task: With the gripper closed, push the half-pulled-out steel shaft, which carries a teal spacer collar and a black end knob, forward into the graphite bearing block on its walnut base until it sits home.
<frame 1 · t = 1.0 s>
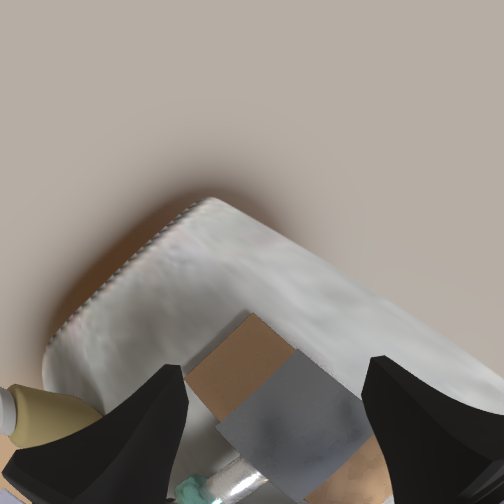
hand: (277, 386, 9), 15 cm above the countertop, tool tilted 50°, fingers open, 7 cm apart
shaft: (229, 486, 14), point 4 cm above the countertop, slide at 5.0 cm
squeeze bottle: (95, 431, 23), on the countertop
bearing housing: (304, 424, 20), on the countertop
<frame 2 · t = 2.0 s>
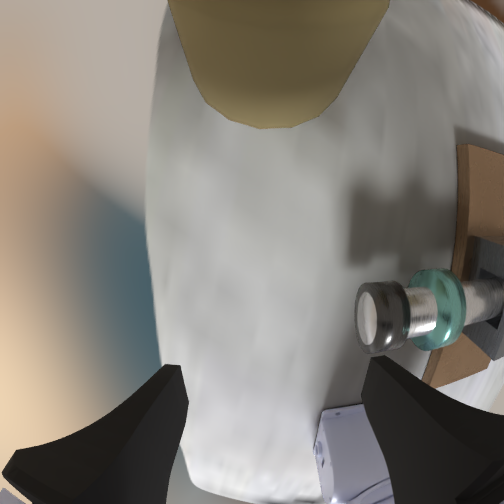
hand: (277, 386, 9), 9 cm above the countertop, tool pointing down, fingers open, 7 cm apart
shaft: (460, 304, 14), point 4 cm above the countertop, slide at 5.0 cm
squeeze bottle: (266, 84, 15), on the countertop
bearing housing: (484, 275, 18), on the countertop
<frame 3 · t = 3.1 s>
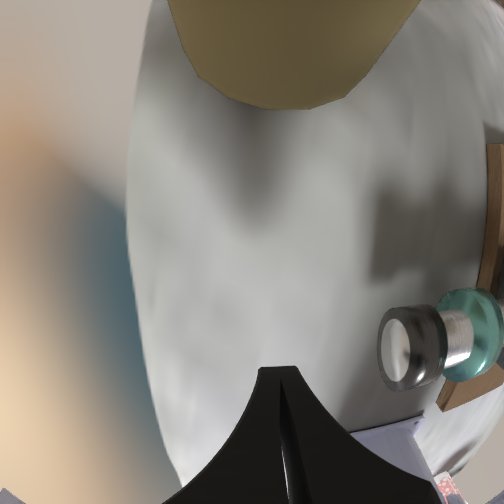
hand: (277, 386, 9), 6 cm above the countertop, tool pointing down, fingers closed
shaft: (492, 326, 10), point 4 cm above the countertop, slide at 5.0 cm
squeeze bottle: (274, 62, 12), on the countertop
beverage cup: (435, 478, 24), on the countertop
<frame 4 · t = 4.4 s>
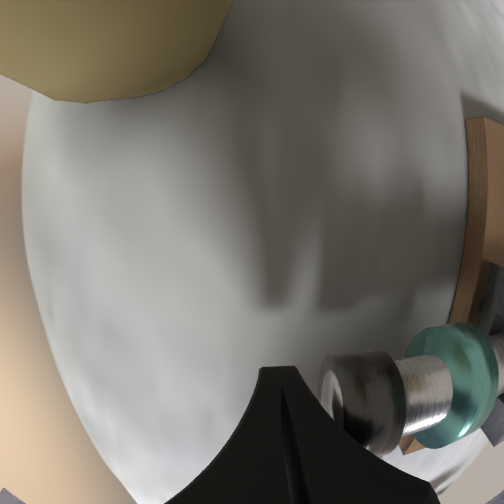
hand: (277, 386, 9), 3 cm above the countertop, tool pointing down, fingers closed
shaft: (483, 370, 7), point 4 cm above the countertop, slide at 3.3 cm, touching gripper
squeeze bottle: (154, 43, 9), on the countertop
bearing housing: (496, 311, 12), on the countertop
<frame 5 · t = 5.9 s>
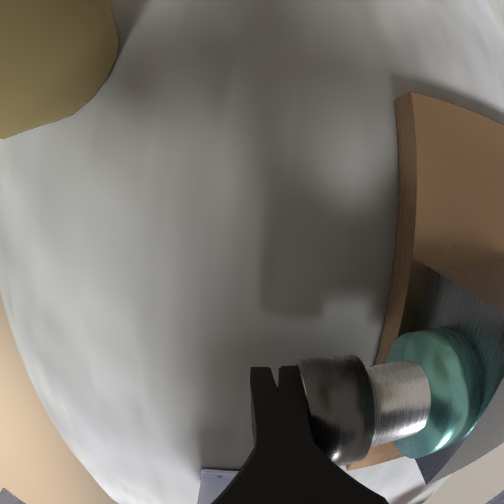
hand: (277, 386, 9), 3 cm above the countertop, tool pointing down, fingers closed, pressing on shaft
shaft: (470, 377, 7), point 4 cm above the countertop, slide at -0.3 cm, touching bearing housing, gripper
squeeze bottle: (74, 69, 9), on the countertop
bearing housing: (453, 323, 12), on the countertop
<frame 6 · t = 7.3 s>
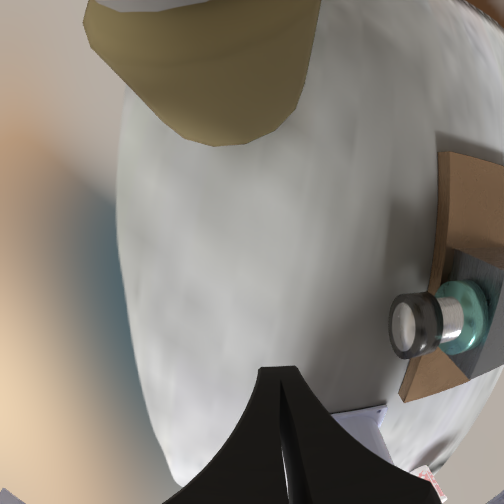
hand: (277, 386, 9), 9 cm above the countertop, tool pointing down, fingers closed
shaft: (480, 311, 14), point 5 cm above the countertop, slide at 0.0 cm
squeeze bottle: (231, 95, 15), on the countertop
bearing housing: (466, 287, 18), on the countertop
beverage cup: (415, 471, 27), on the countertop
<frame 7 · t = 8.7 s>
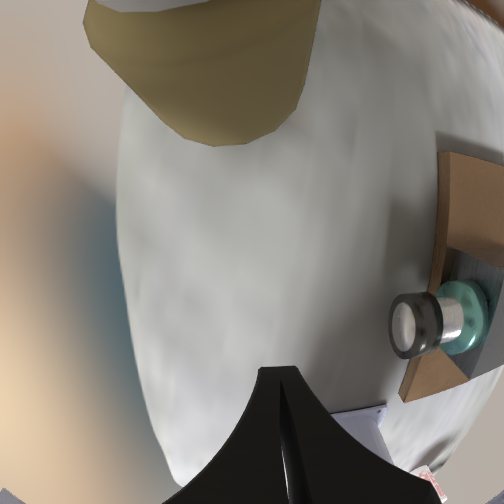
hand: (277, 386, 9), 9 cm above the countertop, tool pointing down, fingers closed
shaft: (480, 311, 14), point 5 cm above the countertop, slide at 0.0 cm
squeeze bottle: (231, 95, 15), on the countertop
bearing housing: (466, 287, 18), on the countertop
beverage cup: (415, 471, 27), on the countertop
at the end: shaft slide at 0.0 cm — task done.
